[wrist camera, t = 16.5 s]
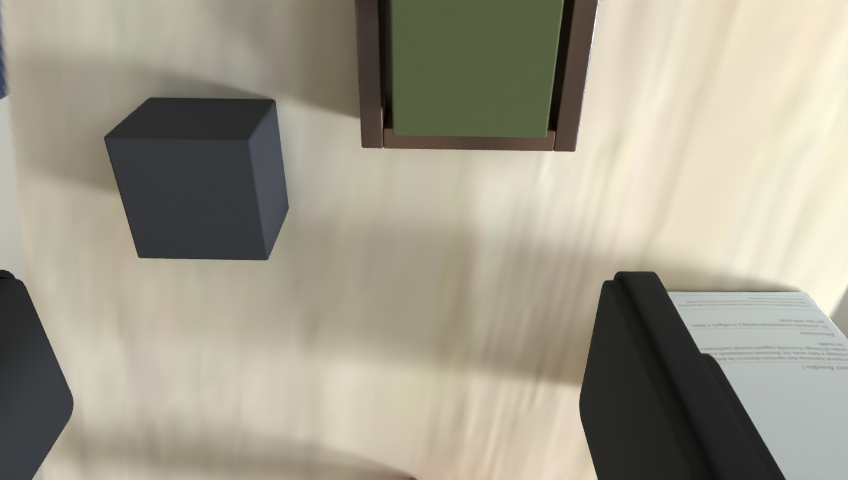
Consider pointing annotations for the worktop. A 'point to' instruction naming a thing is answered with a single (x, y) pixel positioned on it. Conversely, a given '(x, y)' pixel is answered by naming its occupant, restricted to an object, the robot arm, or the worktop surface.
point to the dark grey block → (201, 177)
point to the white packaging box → (780, 372)
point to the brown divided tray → (560, 136)
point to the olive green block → (473, 66)
